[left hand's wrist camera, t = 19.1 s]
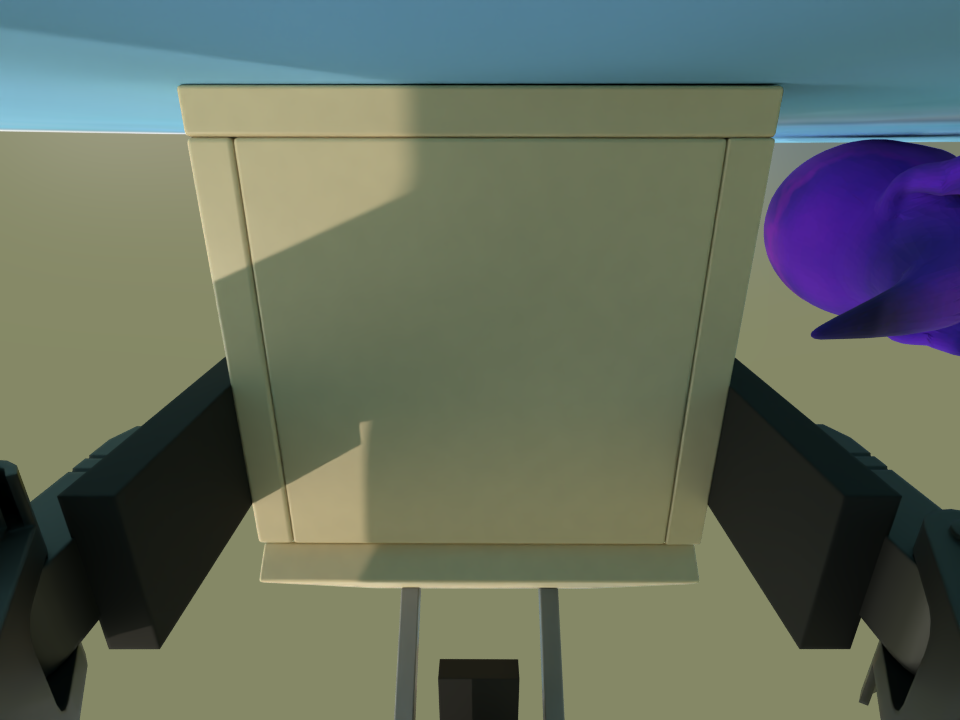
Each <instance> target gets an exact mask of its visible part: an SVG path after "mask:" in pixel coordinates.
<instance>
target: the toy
mask: <svg viewBox="0 0 960 720" xmlns="http://www.w3.org/2000/svg"><path fill="white" fill-rule="evenodd" d="M764 242H765V247H766V251H767V255H768V258H769V260H770V263H771V264H772V266H773V269H774V270H775V272H776V273H777V275H778V276H779V278H780V279H781V280H782V281H783V282H784V284H785V285H786V286H787V287H788V288H789V289H790V290H792V291H793V292H794V293H795V294H796V295H798V296H799V297H800V298H802V299H804V300H805V301H807V302H809V303H810V304H812V305H814V306H816V307H818V308H820V309H823V310H825V311H828V312H830V313H834V314H837V315H839V316H837V317H835V318H833V319H831V320H830V321H828V322H826V323H824V324H822V325H821V326H819V327H818V328H816V329H815V330H814V331H813V332H812V333H811V337H813V338H814V339H853V338H874V337H886V336H887V337H889V338H890V339H891V340H894V341H897V342H900V343H903V344H912V345H927V346H930V347H932V348H935V349H938V350H941V351H944V352H947V353H950V354H953V355H957V356H960V156H958V157H956V156H955V155H953V154H951V153H949V152H947V151H944V150H942V149H937V148H933V147H928V146H924V145H919V144H913V143H907V142H901V141H895V140H886V139H872V140H861V141H855V142H850V143H846V144H842V145H839V146H837V147H834V148H831V149H828V150H826V151H824V152H822V153H819V154H817V155H816V156H814V157H812V158H810V159H809V160H807V161H806V162H804V163H803V164H801V165H800V166H799V167H798V168H796V169H795V170H794V171H793V172H792V173H791V174H790V175H789V176H788V177H787V178H786V179H785V180H784V181H783V183H782V184H781V185H780V186H779V188H778V189H777V191H776V192H775V194H774V196H773V197H772V199H771V202H770V204H769V207H768V210H767V214H766V217H765V223H764Z"/></svg>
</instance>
